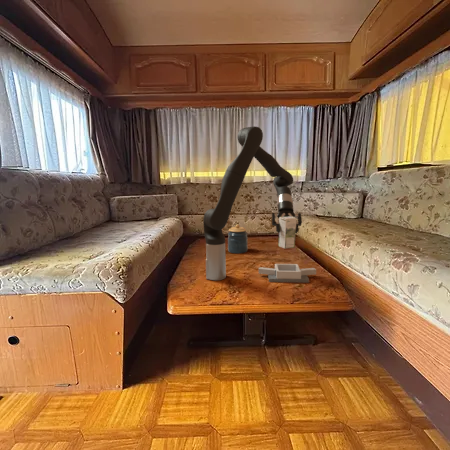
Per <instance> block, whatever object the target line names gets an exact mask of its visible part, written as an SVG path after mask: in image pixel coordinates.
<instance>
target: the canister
mask: <svg viewBox="0 0 450 450" xmlns="http://www.w3.org/2000/svg"><path fill="white" fill-rule="evenodd" d="M227 236H228V237H227V250H228V252H229V253H232V254H245V253H247V252H248V249H249V247H248V239H249V238H248V232H247V229H246V228H245V227H243V226H240V224H238V223H237V224H236V225H235V226H233V227H230V228H229V229H228V233H227Z"/></svg>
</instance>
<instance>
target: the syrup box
mask: <svg viewBox="0 0 450 450" xmlns="http://www.w3.org/2000/svg"><path fill="white" fill-rule="evenodd" d="M278 220H279V227H280V232H279V233H278V241H277V243H278V246H277V247H279V248H282V249H285V250H286V249H294V248H296V234H297V233H296V221H297V218H296V217H291V216H288V217H279V218H278Z"/></svg>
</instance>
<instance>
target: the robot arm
mask: <svg viewBox="0 0 450 450" xmlns="http://www.w3.org/2000/svg"><path fill="white" fill-rule="evenodd" d="M263 138H264V134H263V131H262V129H261V128H260V127H259V126H247V127H243V128H240V130H239V131H238V132H237V141H238V143H239V144H240V146H241V150H240V152H239V153H238V155H236V157H235V158H234V159H233V160H232V161H231V163H230V164H229V165H228V167H226V170H225V173H224V175H223V178H222V180H221V185H220V195H219V199H218V201H217V204H216V205H215V207H214V208H209V209H207V210H206V211H205V212H204V215H203V220H202V221H203V234H204V235H203V236H204V239H205V249H206V251H205V254H206V256H205V257H206V259H205V277H206V279H205V280H211V281H221V280H224V279H226V277H227V263H226V262H227V261H226V258H227V257H226V237H225V235H224V233H223V229H224V228H225V227H226V225H227V224H228V221H229V217H230V215H231V212H232V208H233V205H234V202H235V200H236V198H237V196H238V193H239V191H240V189H241V186H242V185H243V183H244V180H245V177H246V174H247V172H248V171H249V170H248V169H249V168H250V166H251V163H252V161H253V159H255V160H256V161H257V162H258V163H259V164H261V166H262V167H263V169H264V170H265V171H266V172H267V173H268V174H269V176H270V177H272V178H273V180H272V184H273V186H274V189H275V191H276V195H277V204H276V205H277V213H275V212H272V213H271V225H272V227H274V226H275V230H276V231H275V232H277V234H279V232H280V227H279V217H288V216H291V217H295V218H296V233H295V234H298V233H299V227H301V226H302V223H303V220H302V219H303V218H302V214H301V213H300V212H298V213H297V214H296V213H295V210H294V203H293V197H292V190H291V188H290V187H289V186H291V185H292V184H293V183H294V177H293V175H292V174H291V173H290V172H289V171H288V170H286V169H285V168H284V167H282V166H281V165H280V163H279V162H278V160H277V159H276V158H275V157H274V156H272V155H271V154H270V153H269V152H267V151H266V150H265V149H263V148H262V147H261V144H262V142H263ZM276 219H277V221H276Z"/></svg>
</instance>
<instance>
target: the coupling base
mask: <svg viewBox="0 0 450 450" xmlns="http://www.w3.org/2000/svg"><path fill="white" fill-rule="evenodd" d="M258 274H260V275H267V278H268V279H267V280H268V282H269V283H300V284H301V283H303V284H304V283H305V284H306V283H310V278H309V277H308V276H313V275H317V269H316V268H315V267H310V268H300V266H299V264H298V263H274V268H271V267H270V268H269V267H258Z"/></svg>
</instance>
